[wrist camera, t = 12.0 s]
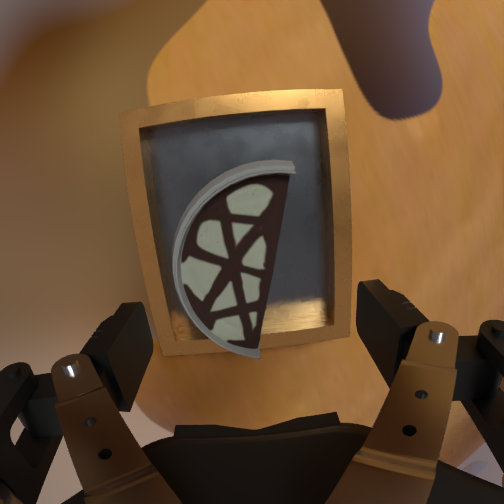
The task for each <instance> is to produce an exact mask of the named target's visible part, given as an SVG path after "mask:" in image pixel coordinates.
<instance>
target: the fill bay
mask: <svg viewBox="0 0 504 504" xmlns="http://www.w3.org/2000/svg"><path fill="white" fill-rule="evenodd" d="M119 120H120V131H121V141H122V150H123V158H124V167H125V174H126V182H127V189H128V196H129V202H130V209H131V214H132V220H133V226H134V232H135V237H136V242H137V248H138V253H139V258H140V263H141V267H142V273H143V277H144V282H145V286H146V291H147V295H148V299H149V303H150V308H151V312H152V316H153V320H154V324H155V328H156V331H157V335H158V339H159V343H160V346H161V350H162V354H163V356H171V355H190V354H206V353H220V352H232V351H229V350H227V349H225V348H223V347H221V346H220V345H218V344H217V343H215V342H214V341H212V340H211V339H209V338H208V337H207V336H206V335H205V334H204V333H203V332H202V331H201V330H200V329H199V328H198V327H197V326H196V325H195V323H194V322H193V321H192V319H191V318H190V317H189V316H188V314H187V313H186V311H185V309H184V307H183V305H182V303H181V302H180V299H179V296H178V293H177V290H176V288H175V282H174V276H173V267H172V249H173V243H174V237H175V233H176V230H177V227H178V224H179V221H180V219H181V217H182V215H183V213H184V211H185V210H186V208H187V206H188V205H189V203H190V202H191V201H192V200H193V198H194V197H195V196H196V195H197V193H198V192H199V191H200V190H201V189H202V188H204V187H205V186H206V185H207V184H208V183H209V182H210V181H212V180H213V179H215V178H216V177H218V176H219V175H221V174H223V173H224V172H226V171H228V170H231V169H233V168H235V167H238V166H240V165H243V164H248V163H252V162H256V161H264V160H285V161H292V163H293V164H294V166H295V169H294V171H295V172H296V174H293V175H290V178H289V184H288V191H287V197H286V202H285V208H284V214H283V219H282V225H281V231H280V236H279V242H278V247H277V253H276V260H275V266H274V272H273V276H272V281H271V286H270V290H269V295H268V299H267V304H266V309H265V314H264V319H263V324H262V329H261V338H260V342H259V344H260V349H263V348H272V347H281V346H289V345H297V344H304V343H311V342H318V341H325V340H332V339H338V338H344V337H350V319H351V289H352V222H351V192H350V172H349V157H348V143H347V131H346V120H345V110H344V101H343V92H342V89H309V90H281V91H264V92H251V93H240V94H230V95H221V96H213V97H205V98H198V99H191V100H185V101H178V102H172V103H167V104H161V105H156V106H150V107H146V108H141V109H136V110H131V111H127V112H122V113H119Z"/></svg>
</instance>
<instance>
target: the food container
mask: <svg viewBox="0 0 504 504" xmlns="http://www.w3.org/2000/svg"><path fill="white" fill-rule="evenodd" d="M294 169H295V166H294V164H293V163H292V161H285V160H264V161H256V162H252V163H248V164H243V165H240V166H238V167H235V168H233V169H231V170H228V171H226V172H224V173H223V174H221V175H219V176H218V177H216V178H215V179H213V180H212V181H210V182H209V183H208V184H207V185H206V186H205V187H204V188H202V189H201V190H200V191H199V192H198V193H197V195H196V196H195V197H194V198H193V200H192V201H191V202H190V203H189V205H188V206H187V208H186V210H185V211H184V213H183V215H182V217H181V219H180V221H179V224H178V227H177V230H176V233H175V237H174V243H173V249H172V267H173V276H174V282H175V288H176V290H177V293H178V296H179V299H180V302H181V303H182V305H183V307H184V309H185V311H186V313H187V314H188V316H189V317H190V318H191V319H192V321H193V322H194V323H195V325H196V326H197V327H198V328H199V329H200V330H201V331H202V332H203V333H204V334H205V335H206V336H207V337H208V338H209V339H211V340H212V341H214V342H215V343H217V344H218V345H220V346H221V347H223V348H225V349H227V350H229V351H232V352H234V353H237V354H240V355H243V356H246V357H251V358H257V359H260V344H259V342H260V338H261V329H262V324H263V319H264V314H265V309H266V304H267V299H268V295H269V290H270V286H271V281H272V276H273V272H274V266H275V260H276V253H277V247H278V242H279V236H280V231H281V225H282V219H283V214H284V208H285V202H286V197H287V191H288V184H289V178H290V175H293V174H296V172H295V171H294Z"/></svg>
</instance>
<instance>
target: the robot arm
mask: <svg viewBox="0 0 504 504" xmlns="http://www.w3.org/2000/svg"><path fill="white" fill-rule="evenodd" d="M356 327H357V332H358V334H359V336H360V338H361V340H362V341H363V343H364V345H365V347H366V348H367V350H368V352H369V353H370V355H371V357H372V359H373V360H374V362H375V364H376V366H377V367H378V369H379V371H380V373H381V374H382V376H383V378H384V380H385V381H386V383H387V385H388V387H389V389H390V390H389V392H388V395H387V397H386V399H385V401H384V404H383V406H382V408H381V410H380V412H379V414H378V416H377V418H376V420H375V423H374V425H373V427H372V428H371V427H368V426H364V425H359V424H353V423H340V421H339V418H338V415H337V412H332V413H326V414H320V415H314V416H307V417H300V418H295V419H292V420H289V421H286V422H282V423H279V424H276V425H272V426H269V427H265V428H262V429H257V430H251V429H242V428H234V427H227V426H220V425H176V426H175V431H174V436H172V437H167V438H164V439H160V440H157V441H155V442H152V443H150V444H148V445H145V446H144V447H142V448H141V447H140V446H139V444H138V442H137V441H136V439H135V438H134V436H133V434H132V433H131V431H130V429H129V428H128V426H127V425H126V423H125V421H124V420H123V418H122V416H121V414H120V413H119V411H123V412H130V410H131V408H132V405H133V402H134V400H135V397H136V394H137V392H138V389H139V387H140V384H141V381H142V379H143V376H144V374H145V371H146V368H147V366H148V363H149V361H150V358H151V356H152V353H153V339H152V335H151V332H150V327H149V324H148V320H147V316H146V312H145V308H144V305H143V304H142V302H130V303H122V304H121V305H120V306H119V308H118V309H117V311H116V312H115V314H114V315H113V316H110V317H109V318H107V319H106V320H104V321H103V322H102V323H101V324H100V325H99V327H98V328H97V329H96V331H95V332H94V334H93V335H92V338H90V339H89V340H88V342H87V343H86V344H85V346H84V347H83V349H82V350H81V352H80V353H79V354H71V355H67V356H65V357H63V358H61V359H60V360H58V361H57V362H55V364H54V365H53V366H52V368H51V373H46V374H40V375H34V374H33V372H32V370H31V367H30V365H29V364H27V363H24V362H18V363H14V364H11V365H9V366H7V367H5V368H4V369H3V370H2V371H0V504H36V502H37V500H38V497H39V494H40V492H41V489H42V486H43V484H44V481H45V478H46V476H47V473H48V471H49V468H50V466H51V463H52V461H53V459H54V456H55V454H56V451H57V449H58V447H59V444H60V442H61V439H62V437H63V436H64V439H65V442H66V445H67V448H68V451H69V454H70V456H71V459H72V462H73V465H74V467H75V470H76V473H77V475H78V478H79V480H80V483H81V485H82V488H83V490H81V491H80V492H78V493H77V494H75V495H74V496H72V497H71V498H70V499H68V500H66V501H65V502H63V503H61V504H504V474H503V477H502V487H501V486H498V485H496V484H493V483H491V482H488V481H486V480H483V479H481V478H478V477H476V476H474V475H471V474H469V473H467V472H464V471H462V470H459V469H457V468H455V467H453V466H451V465H449V464H446V463H444V462H442V461H440V460H438V458H439V454H440V451H441V447H442V443H443V439H444V435H445V431H446V427H447V423H448V418H449V413H450V409H451V404H452V401H461V403H462V404H463V406H464V407H465V409H466V410H467V412H468V414H469V415H470V417H471V418H472V420H473V422H474V423H475V425H476V426H477V428H478V430H479V431H480V433H481V435H482V436H483V438H484V440H485V441H486V443H487V445H488V446H489V448H490V450H491V452H492V453H493V455H494V457H495V459H496V460H497V462H498V464H499V466H500V467H501V469H502V471H503V473H504V392H503V391H502V390H501V388H500V387H499V386H500V383H501V381H502V378H503V377H504V321H500V320H488V321H485V322H483V323H482V324H481V326H480V329H479V333H478V335H477V336H459V334H458V331H457V330H456V329H455V328H454V327H453V326H451V325H449V324H447V323H444V322H438V321H429V320H428V319H427V318H426V317H425V316H424V315H423V314H422V313H421V312H420V311H419V310H418V309H417V308H415V306H414V305H413V304H412V303H410V301H409V300H408V299H407V298H406V297H405V296H404V295H403V294H400V293H398V292H396V291H394V290H389V289H388V288H387V287H386V286H385V285H384V284H383V283H382V282H381V281H380V280H379V279H376V280H369V281H361V282H359V284H358V289H357V310H356ZM17 417H18V418H19V419H20V421H21V422H22V424H23V426H24V427H25V428H24V430H23V432H22V433H21V435H20V437H19V439H18V441H17V443H16V445H14V444H13V442H12V440H11V437H10V429H11V427H12V425H13V423H14V422H15V420H16V418H17Z"/></svg>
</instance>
